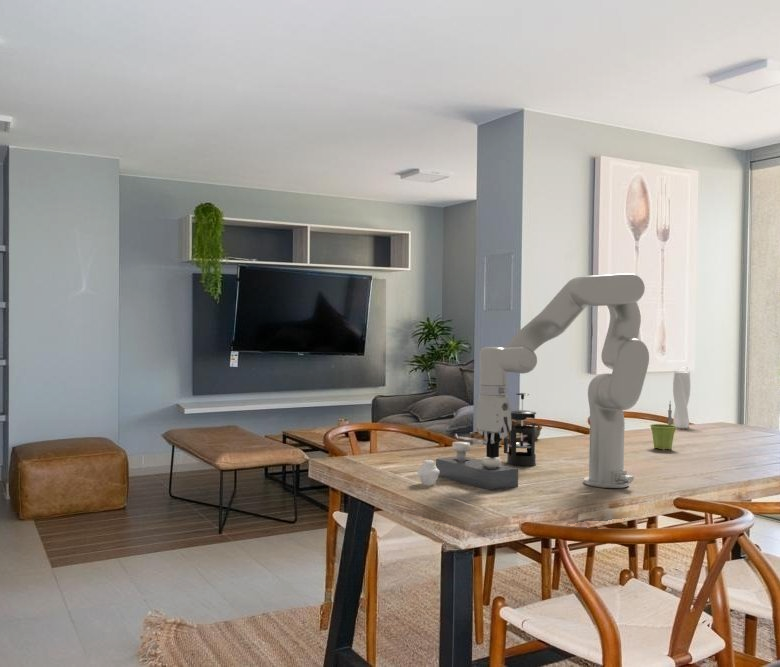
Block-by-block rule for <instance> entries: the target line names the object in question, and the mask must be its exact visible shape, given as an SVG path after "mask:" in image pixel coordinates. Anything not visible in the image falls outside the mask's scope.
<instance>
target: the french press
mask: <svg viewBox="0 0 780 667" xmlns="http://www.w3.org/2000/svg"><path fill="white" fill-rule="evenodd" d="M515 395H516V396H520V400H521V410H517V409H516V410H511V419H513V420H522V422H521V426H511V431H510V432H509V444H508V437H507V438H504V445H503V453H504V454H507V455H506V456H507V457H506V458H507V461H506V465H508V466H510V467H519V468H532V467H535V466H537V463H536V458H537V457H536V456H537V455H536V454H535V450H536V448H535V447H536V444H535V443H536V442H535V441H536V440H535V432H536V427H537V426H536V427H535V426H534V427H532V425H528V426H523V424H524V422H523V420H525V421H526V420H527V419H532V420H533V419H535V418H536V415H537V412H536V411H530V410H523V409H524V399H525V396H529V395H530V394H529V393H525V392H517V393H515ZM516 433H521V441H520V442H516ZM522 433H527V441H526V442H523V441H522ZM507 434H508V432H507ZM517 449H526V451H517Z"/></svg>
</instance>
